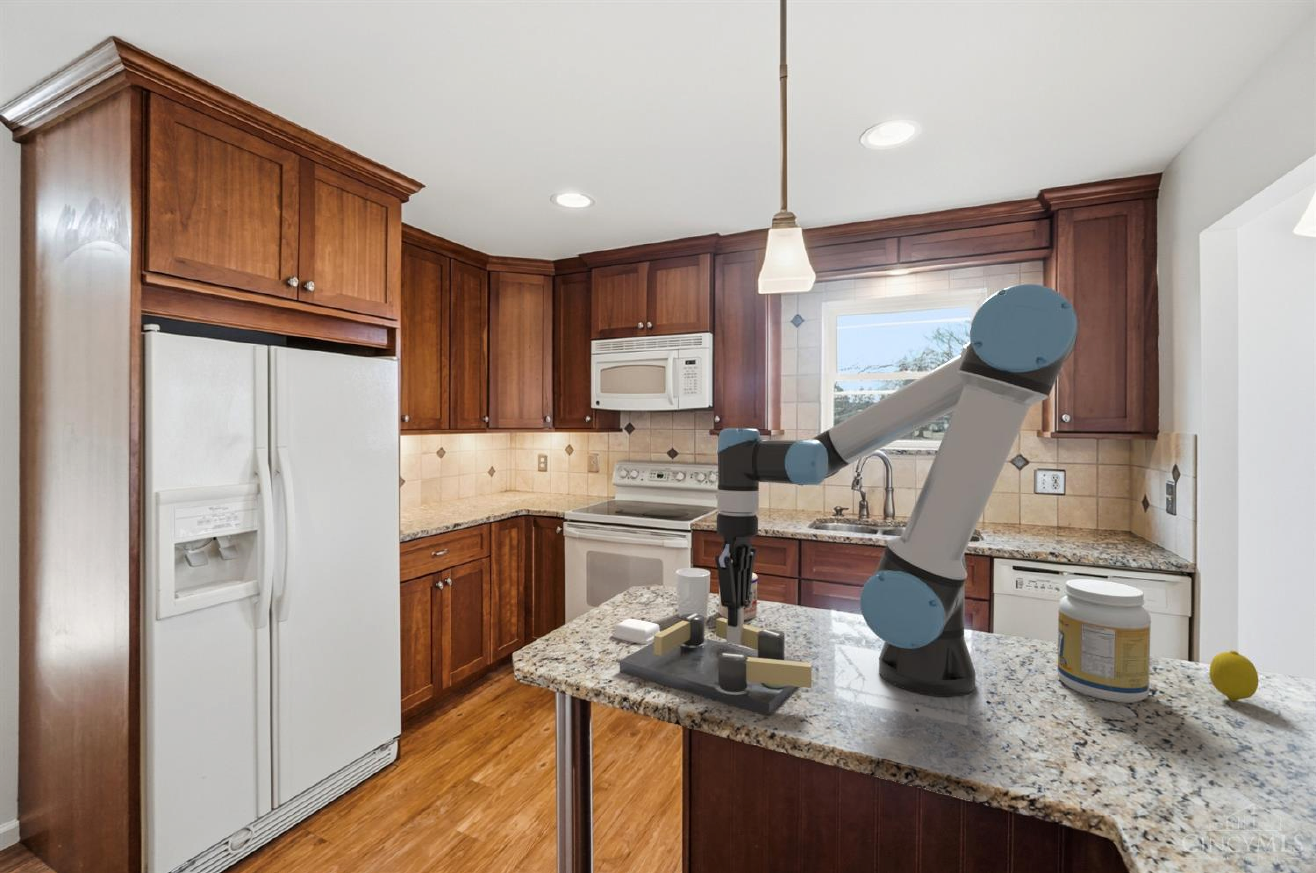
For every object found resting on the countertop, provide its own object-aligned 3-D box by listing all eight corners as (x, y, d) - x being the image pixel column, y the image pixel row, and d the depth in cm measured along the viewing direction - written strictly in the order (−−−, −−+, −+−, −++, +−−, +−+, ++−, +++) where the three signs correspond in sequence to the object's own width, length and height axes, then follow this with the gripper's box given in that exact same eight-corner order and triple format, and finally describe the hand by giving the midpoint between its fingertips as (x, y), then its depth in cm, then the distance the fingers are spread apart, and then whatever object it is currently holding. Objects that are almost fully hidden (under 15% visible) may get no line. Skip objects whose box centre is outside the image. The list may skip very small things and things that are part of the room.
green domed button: (791, 681, 95) (791, 676, 95) (782, 690, 91) (782, 686, 91) (768, 675, 97) (768, 671, 97) (758, 684, 94) (758, 679, 94)
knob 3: (716, 689, 91) (716, 659, 91) (720, 676, 96) (720, 648, 95) (811, 699, 88) (811, 668, 88) (810, 686, 92) (811, 656, 92)
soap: (664, 636, 122) (664, 622, 121) (646, 646, 116) (647, 632, 116) (627, 628, 126) (627, 615, 126) (609, 638, 120) (609, 624, 120)
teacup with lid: (750, 623, 129) (751, 570, 128) (712, 617, 133) (712, 566, 133) (766, 608, 139) (766, 559, 139) (730, 603, 143) (730, 555, 143)
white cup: (673, 620, 131) (673, 575, 130) (677, 609, 138) (678, 567, 138) (708, 622, 129) (708, 577, 129) (711, 611, 137) (711, 568, 137)
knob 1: (688, 634, 115) (688, 610, 115) (708, 639, 113) (708, 614, 112) (646, 658, 103) (646, 631, 103) (668, 664, 101) (668, 636, 101)
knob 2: (789, 659, 103) (789, 632, 103) (774, 666, 100) (774, 639, 100) (726, 637, 113) (726, 613, 113) (710, 643, 110) (710, 619, 110)
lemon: (1249, 712, 89) (1250, 660, 89) (1202, 697, 94) (1203, 647, 94) (1264, 704, 92) (1265, 653, 92) (1217, 690, 97) (1218, 642, 96)
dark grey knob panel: (810, 674, 102) (810, 662, 102) (766, 719, 86) (766, 704, 86) (674, 641, 118) (674, 630, 118) (616, 674, 102) (616, 662, 102)
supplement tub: (1058, 667, 106) (1059, 573, 106) (1145, 684, 99) (1147, 584, 98) (1056, 691, 96) (1057, 588, 96) (1153, 713, 89) (1155, 602, 89)
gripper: (733, 508, 114) (731, 629, 114) (702, 514, 104) (700, 648, 103) (770, 511, 110) (767, 637, 110) (741, 518, 99) (738, 657, 99)
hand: (734, 642), depth 107 cm, fingers closed
